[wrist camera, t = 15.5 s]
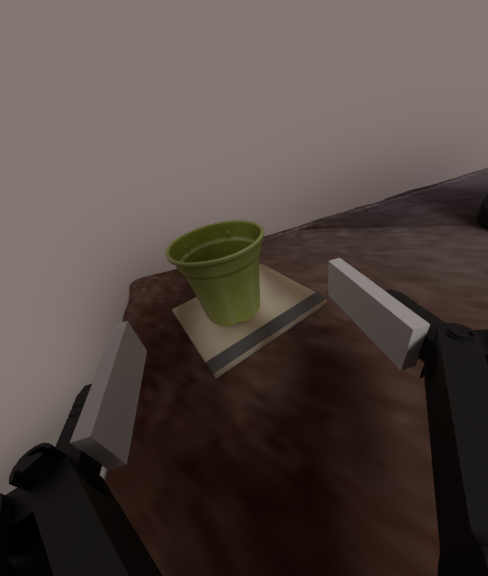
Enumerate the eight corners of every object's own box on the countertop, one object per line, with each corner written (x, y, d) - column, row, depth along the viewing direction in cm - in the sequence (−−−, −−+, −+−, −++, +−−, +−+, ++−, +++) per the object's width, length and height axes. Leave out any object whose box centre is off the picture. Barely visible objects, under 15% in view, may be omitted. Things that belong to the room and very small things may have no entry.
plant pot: (223, 280, 32) (204, 219, 27) (287, 289, 27) (279, 218, 22) (178, 327, 26) (144, 259, 21) (251, 349, 21) (229, 268, 16)
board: (261, 268, 34) (260, 263, 34) (326, 304, 25) (326, 297, 25) (174, 314, 29) (171, 308, 29) (215, 379, 20) (212, 373, 20)
